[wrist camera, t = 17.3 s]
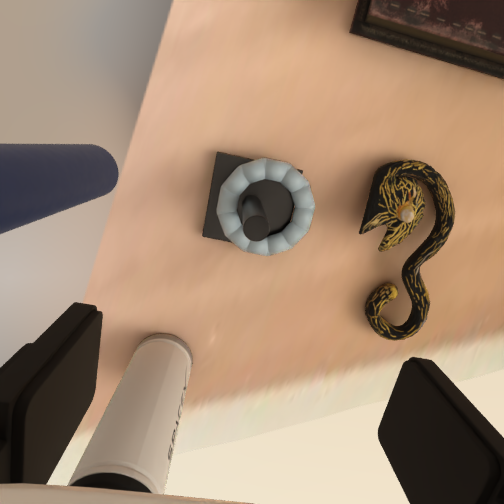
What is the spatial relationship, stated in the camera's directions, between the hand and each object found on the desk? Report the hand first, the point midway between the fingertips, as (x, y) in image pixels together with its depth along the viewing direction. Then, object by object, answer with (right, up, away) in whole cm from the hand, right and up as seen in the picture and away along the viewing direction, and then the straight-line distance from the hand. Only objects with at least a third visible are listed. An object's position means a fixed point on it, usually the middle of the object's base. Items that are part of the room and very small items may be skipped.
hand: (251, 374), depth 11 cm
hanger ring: (+1, +8, +21) cm, 23 cm away
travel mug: (-10, -8, +28) cm, 31 cm away
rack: (0, +8, +23) cm, 25 cm away
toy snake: (+14, +4, +25) cm, 29 cm away
